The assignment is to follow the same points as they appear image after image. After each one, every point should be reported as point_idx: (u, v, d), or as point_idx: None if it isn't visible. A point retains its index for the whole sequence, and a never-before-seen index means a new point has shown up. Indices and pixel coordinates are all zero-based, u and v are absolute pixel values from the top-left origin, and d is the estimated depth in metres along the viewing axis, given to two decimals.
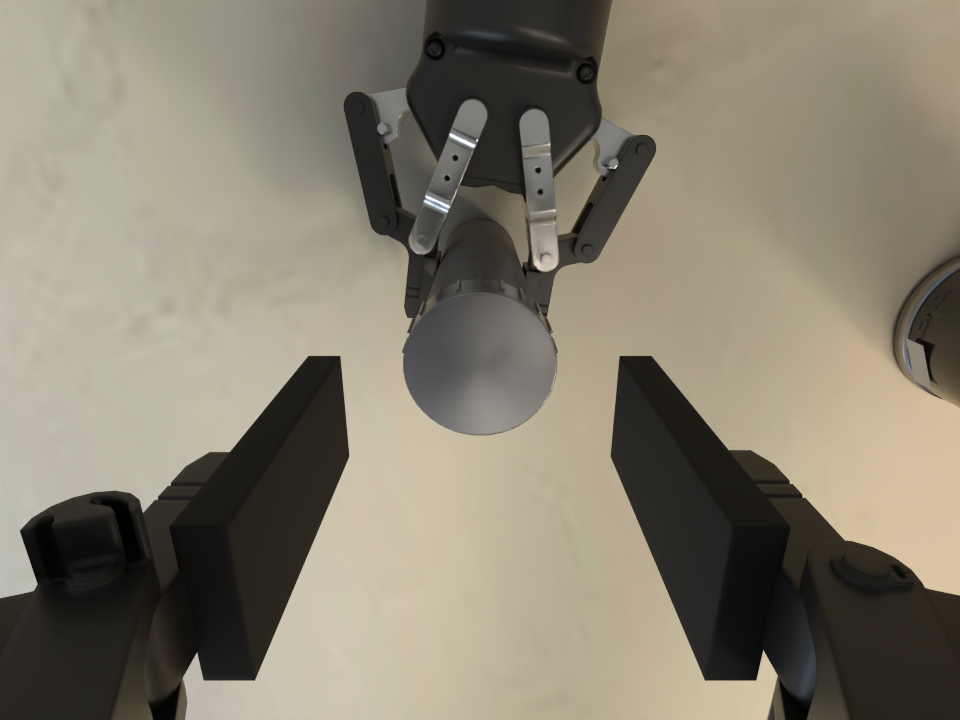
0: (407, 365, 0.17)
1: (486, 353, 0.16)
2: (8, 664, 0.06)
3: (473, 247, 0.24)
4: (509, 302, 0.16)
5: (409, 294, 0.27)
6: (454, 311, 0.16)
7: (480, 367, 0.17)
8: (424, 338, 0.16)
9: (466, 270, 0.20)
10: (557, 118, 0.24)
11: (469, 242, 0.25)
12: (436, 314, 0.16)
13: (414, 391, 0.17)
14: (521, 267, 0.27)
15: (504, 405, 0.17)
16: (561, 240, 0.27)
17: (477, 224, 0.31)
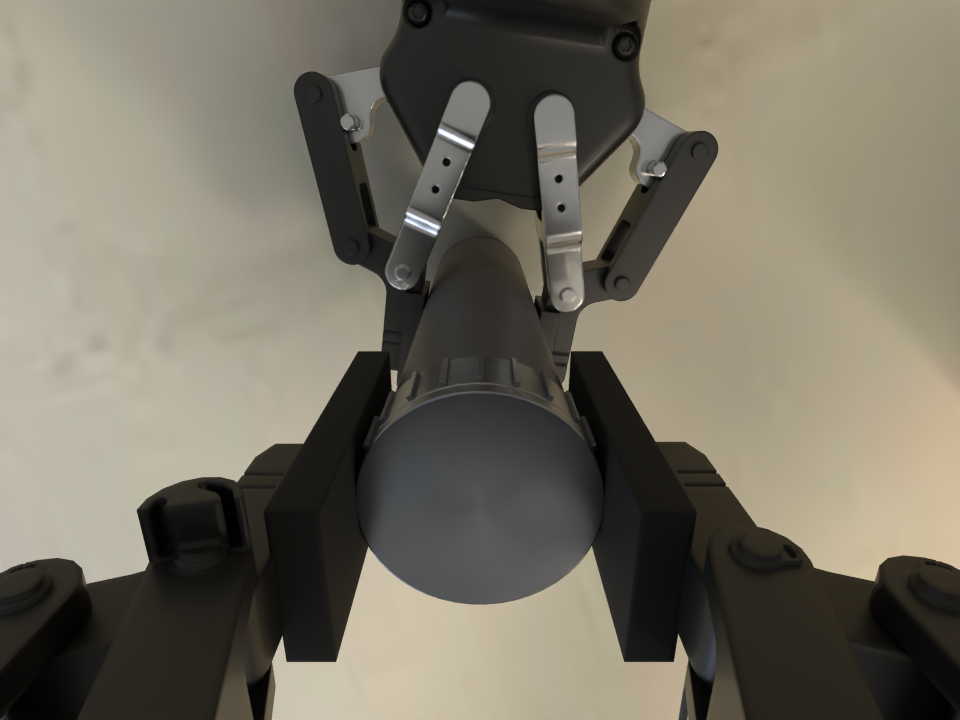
0: (361, 503, 0.10)
1: (490, 485, 0.10)
2: (125, 637, 0.06)
3: (471, 284, 0.17)
4: (529, 407, 0.10)
5: (387, 340, 0.21)
6: (437, 421, 0.10)
7: (480, 506, 0.10)
8: (388, 463, 0.10)
9: (459, 330, 0.13)
10: (585, 108, 0.18)
11: (465, 275, 0.19)
12: (407, 426, 0.10)
13: (374, 541, 0.10)
14: None
15: (519, 562, 0.11)
16: (587, 270, 0.20)
17: (476, 245, 0.24)
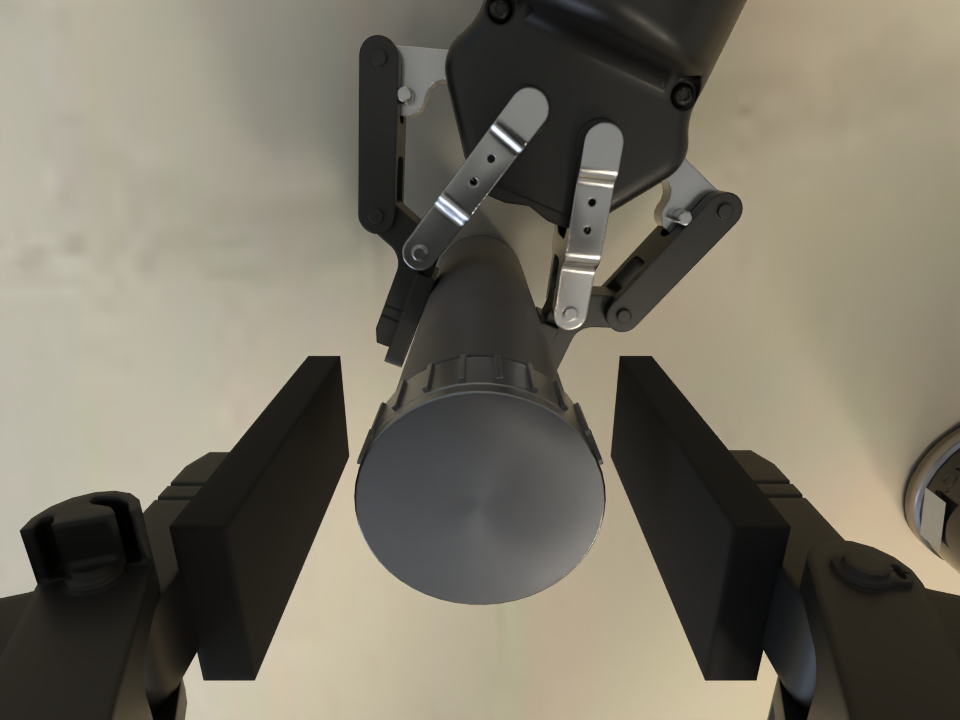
0: (476, 600, 0.11)
1: (455, 498, 0.10)
2: (8, 664, 0.06)
3: (487, 281, 0.18)
4: (367, 466, 0.10)
5: (386, 314, 0.21)
6: (387, 540, 0.10)
7: (480, 506, 0.10)
8: (432, 578, 0.11)
9: (481, 323, 0.14)
10: (632, 143, 0.19)
11: (481, 271, 0.19)
12: (394, 562, 0.11)
13: (520, 592, 0.11)
14: None
15: (550, 471, 0.10)
16: (593, 295, 0.21)
17: (488, 244, 0.25)
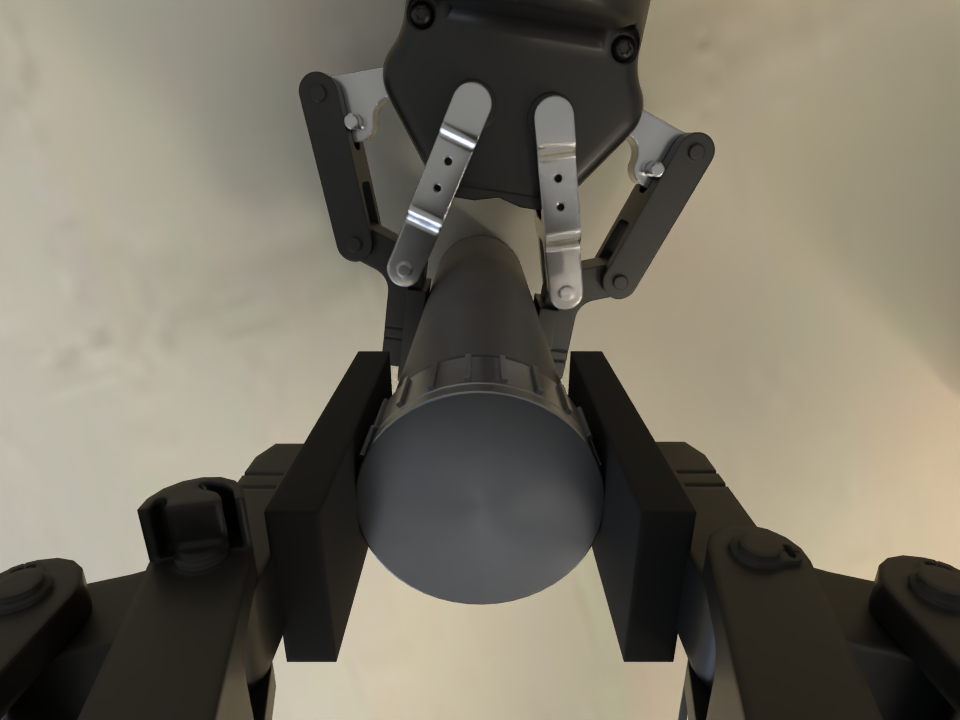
0: (503, 597, 0.11)
1: (453, 502, 0.10)
2: (126, 637, 0.06)
3: (471, 281, 0.18)
4: (361, 490, 0.10)
5: (389, 336, 0.21)
6: (400, 556, 0.11)
7: (480, 505, 0.10)
8: (454, 585, 0.11)
9: (461, 325, 0.14)
10: (584, 109, 0.18)
11: (466, 272, 0.19)
12: (413, 576, 0.11)
13: (544, 582, 0.11)
14: (533, 303, 0.21)
15: (538, 457, 0.10)
16: (586, 268, 0.20)
17: (477, 243, 0.25)
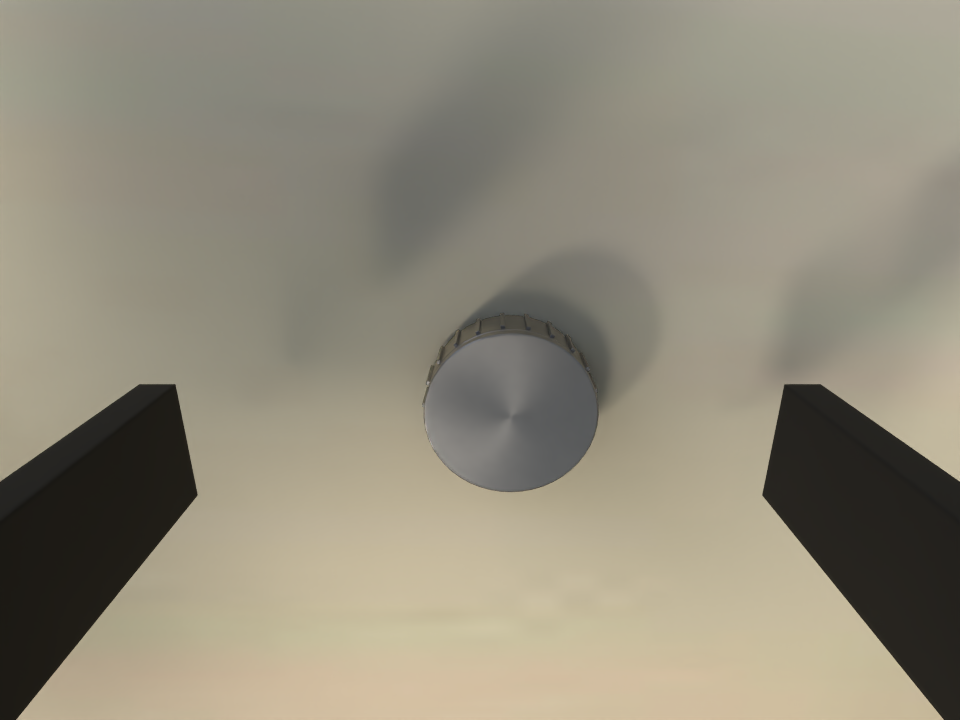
0: (526, 486, 0.15)
1: (492, 414, 0.15)
2: None
3: None
4: (429, 404, 0.15)
5: None
6: (454, 454, 0.15)
7: (510, 416, 0.15)
8: (491, 476, 0.15)
9: None
10: None
11: None
12: (462, 470, 0.15)
13: (555, 475, 0.15)
14: None
15: (551, 381, 0.14)
16: None
17: None
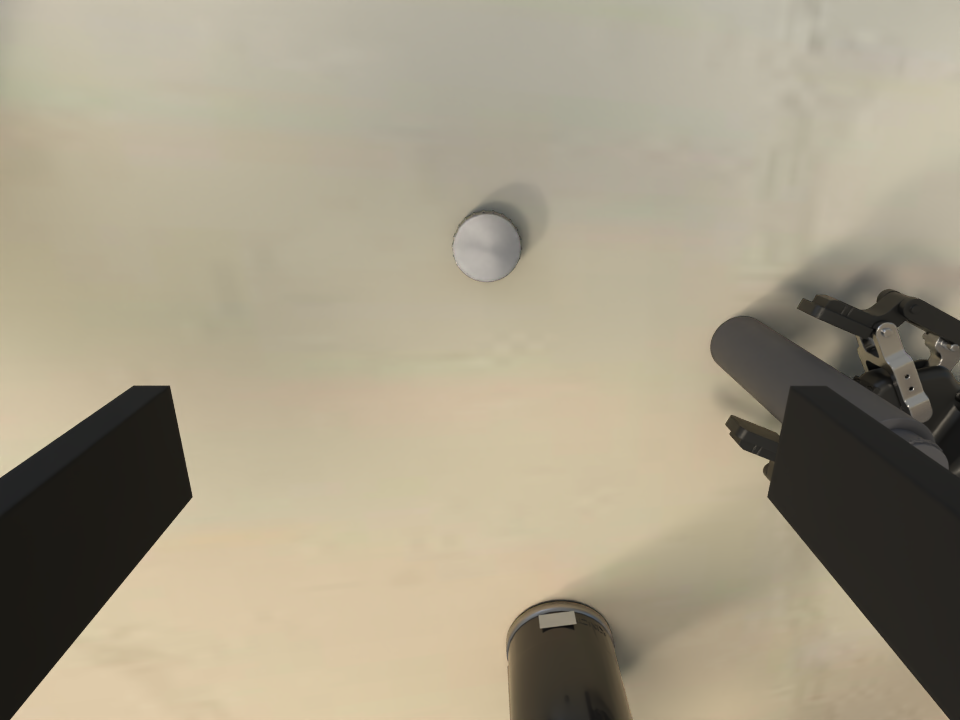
0: (493, 279, 0.38)
1: (479, 247, 0.38)
2: None
3: None
4: (455, 243, 0.37)
5: (846, 307, 0.34)
6: (464, 265, 0.38)
7: (486, 248, 0.38)
8: (479, 275, 0.38)
9: None
10: None
11: None
12: (468, 272, 0.38)
13: (505, 274, 0.38)
14: None
15: (502, 233, 0.37)
16: None
17: None
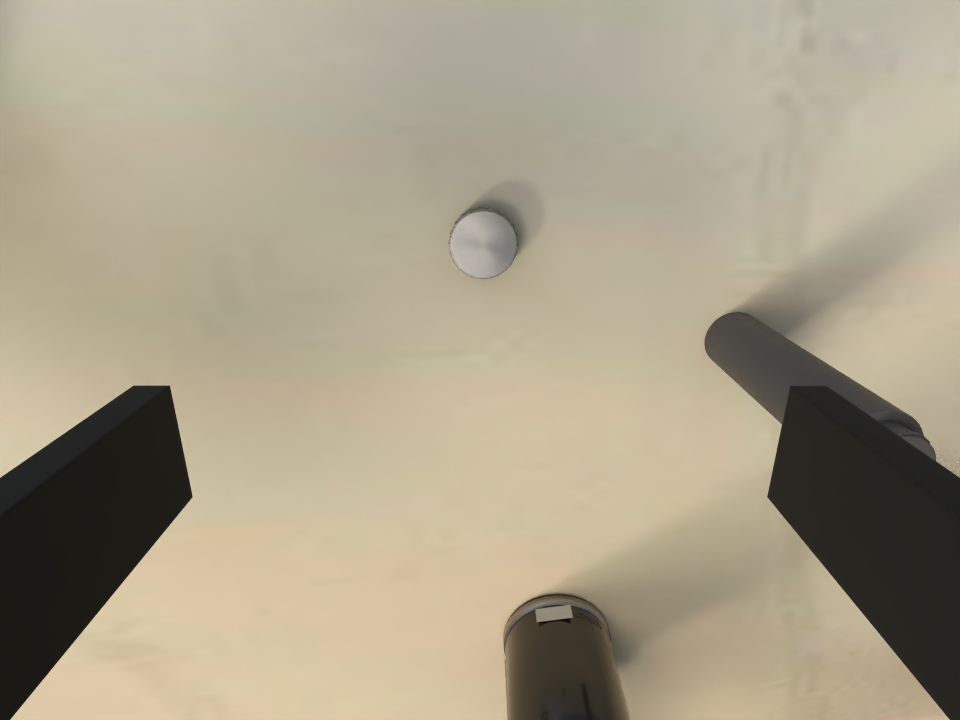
0: (490, 276, 0.39)
1: (476, 244, 0.38)
2: None
3: None
4: (451, 240, 0.38)
5: None
6: (461, 262, 0.38)
7: (483, 245, 0.38)
8: (476, 271, 0.39)
9: None
10: None
11: None
12: (464, 268, 0.39)
13: (501, 270, 0.39)
14: None
15: (498, 230, 0.38)
16: None
17: None
